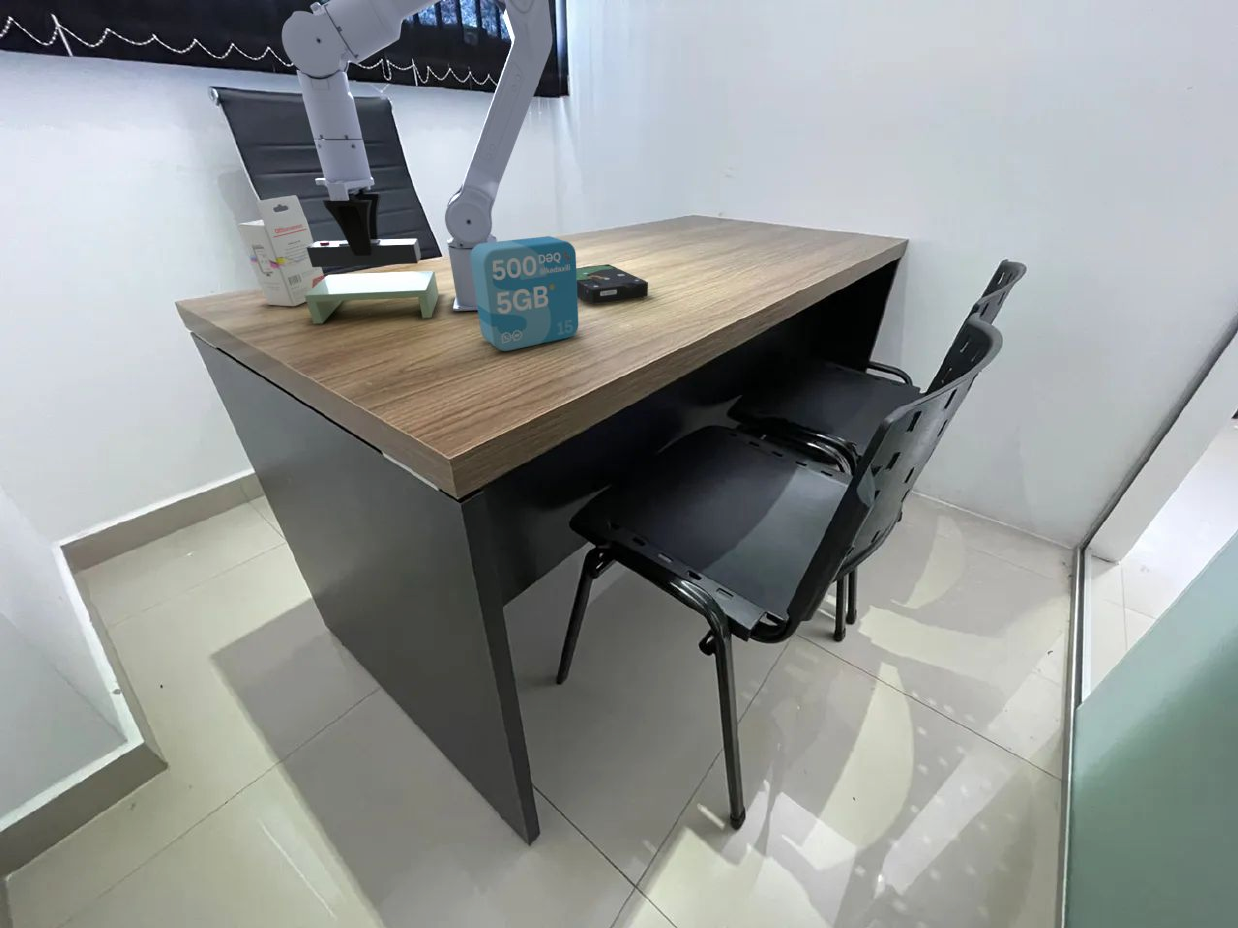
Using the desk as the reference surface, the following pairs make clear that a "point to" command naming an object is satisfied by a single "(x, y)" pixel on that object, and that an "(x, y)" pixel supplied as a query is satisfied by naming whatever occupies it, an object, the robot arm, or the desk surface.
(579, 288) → the disk drive
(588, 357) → the desk surface
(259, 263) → the ink cartridge box
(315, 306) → the shelf
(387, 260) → the remote
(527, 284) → the data package
